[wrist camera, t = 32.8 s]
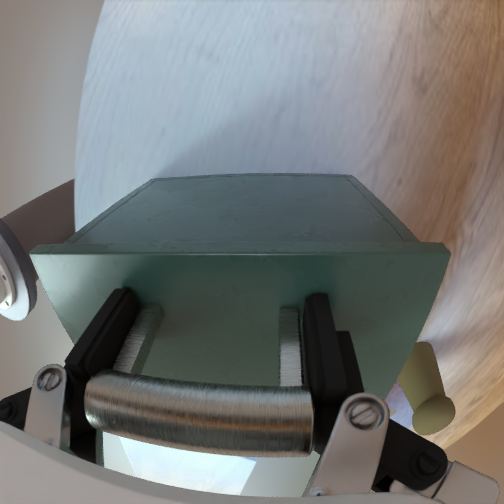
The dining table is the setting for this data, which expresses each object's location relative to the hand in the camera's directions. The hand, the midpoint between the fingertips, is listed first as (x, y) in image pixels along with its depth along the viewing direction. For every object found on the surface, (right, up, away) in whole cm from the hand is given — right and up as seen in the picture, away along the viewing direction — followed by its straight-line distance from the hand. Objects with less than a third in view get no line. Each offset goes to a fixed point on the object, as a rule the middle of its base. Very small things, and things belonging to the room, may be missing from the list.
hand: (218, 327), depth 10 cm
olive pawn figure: (+22, -11, +21) cm, 32 cm away
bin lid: (0, -4, +4) cm, 6 cm away
